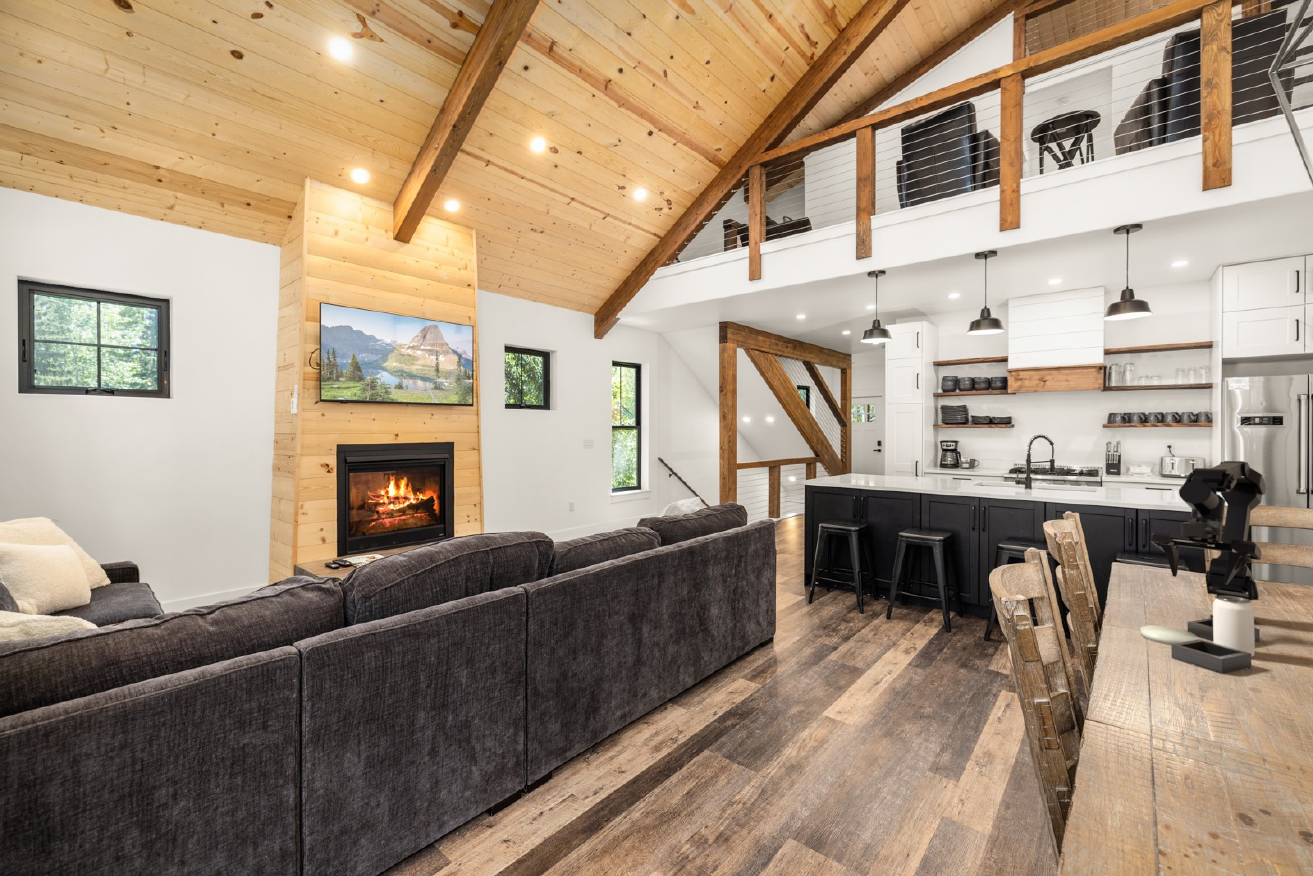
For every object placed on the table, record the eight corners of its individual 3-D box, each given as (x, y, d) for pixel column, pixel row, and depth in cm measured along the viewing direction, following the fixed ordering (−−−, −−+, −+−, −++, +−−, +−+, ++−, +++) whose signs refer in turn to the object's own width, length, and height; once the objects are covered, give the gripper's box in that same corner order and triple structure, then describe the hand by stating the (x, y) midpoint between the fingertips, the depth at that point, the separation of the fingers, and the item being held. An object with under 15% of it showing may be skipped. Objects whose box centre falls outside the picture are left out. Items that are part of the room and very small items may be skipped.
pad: (1159, 629, 145) (1159, 623, 145) (1207, 642, 135) (1207, 636, 135) (1130, 634, 142) (1130, 628, 142) (1177, 648, 132) (1177, 641, 132)
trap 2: (1213, 629, 144) (1212, 617, 144) (1259, 642, 135) (1259, 629, 135) (1187, 634, 141) (1187, 621, 141) (1233, 646, 132) (1233, 633, 132)
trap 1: (1200, 652, 129) (1199, 639, 129) (1251, 667, 121) (1251, 653, 121) (1171, 658, 127) (1171, 644, 127) (1221, 673, 118) (1221, 659, 118)
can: (1236, 648, 132) (1235, 595, 132) (1263, 659, 125) (1262, 603, 125) (1205, 647, 132) (1204, 594, 132) (1230, 658, 126) (1229, 603, 126)
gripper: (1146, 503, 145) (1137, 564, 142) (1251, 510, 129) (1244, 578, 126) (1162, 517, 150) (1154, 576, 147) (1264, 525, 135) (1258, 591, 131)
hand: (1199, 580), depth 138 cm, fingers open, 9 cm apart
